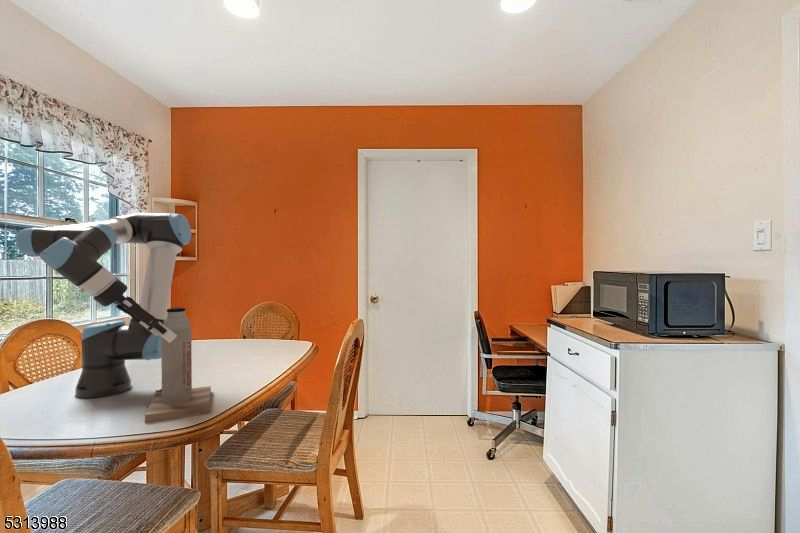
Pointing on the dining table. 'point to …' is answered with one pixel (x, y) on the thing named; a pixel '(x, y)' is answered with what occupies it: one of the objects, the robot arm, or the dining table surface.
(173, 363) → the thermos bottle
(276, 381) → the dining table surface
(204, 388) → the walnut board
